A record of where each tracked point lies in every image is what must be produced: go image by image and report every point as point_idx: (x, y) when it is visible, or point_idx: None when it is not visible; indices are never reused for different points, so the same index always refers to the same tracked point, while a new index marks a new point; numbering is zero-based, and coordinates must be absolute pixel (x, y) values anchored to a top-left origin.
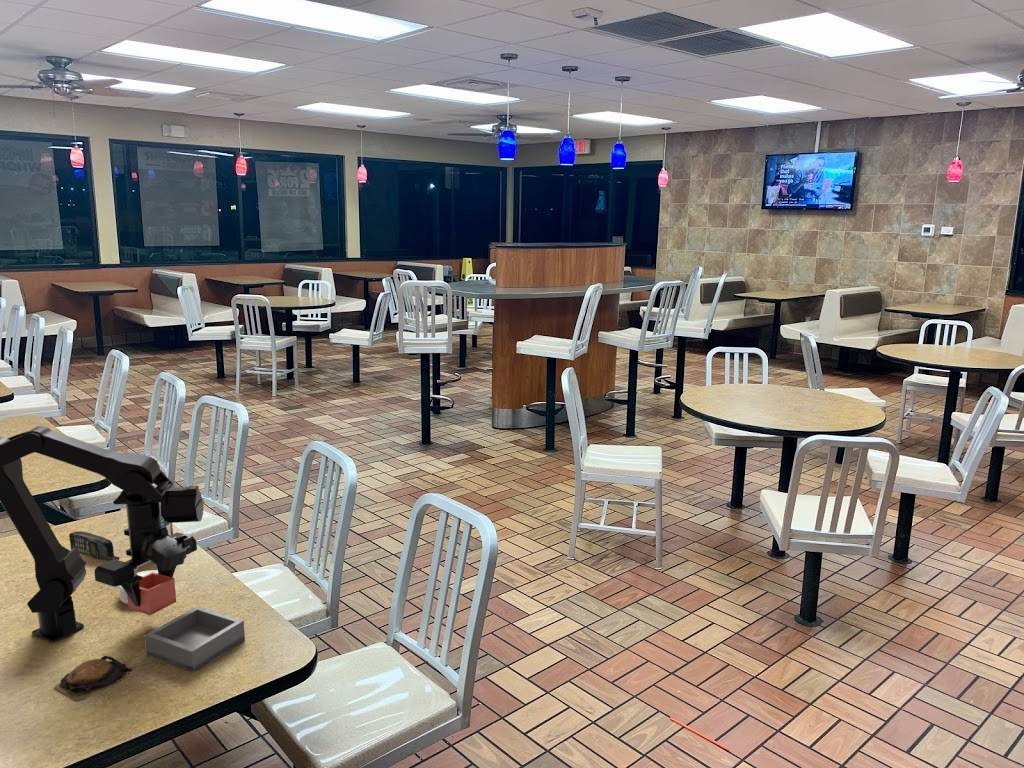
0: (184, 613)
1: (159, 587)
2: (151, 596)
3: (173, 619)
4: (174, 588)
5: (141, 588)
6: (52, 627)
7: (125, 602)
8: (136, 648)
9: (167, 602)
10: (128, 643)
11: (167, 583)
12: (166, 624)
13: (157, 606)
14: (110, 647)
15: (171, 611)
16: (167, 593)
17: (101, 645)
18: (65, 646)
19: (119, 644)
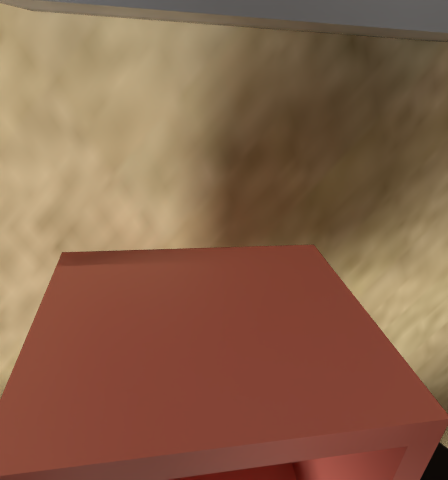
0: (161, 7)
1: (264, 412)
2: (354, 349)
3: (294, 19)
4: (35, 342)
5: None
6: None
7: None
8: (390, 153)
9: (151, 268)
10: (360, 224)
11: (123, 429)
12: (387, 5)
13: (258, 268)
14: (404, 260)
15: (40, 302)
16: (140, 324)
17: (397, 300)
18: (424, 381)
19: (376, 250)
